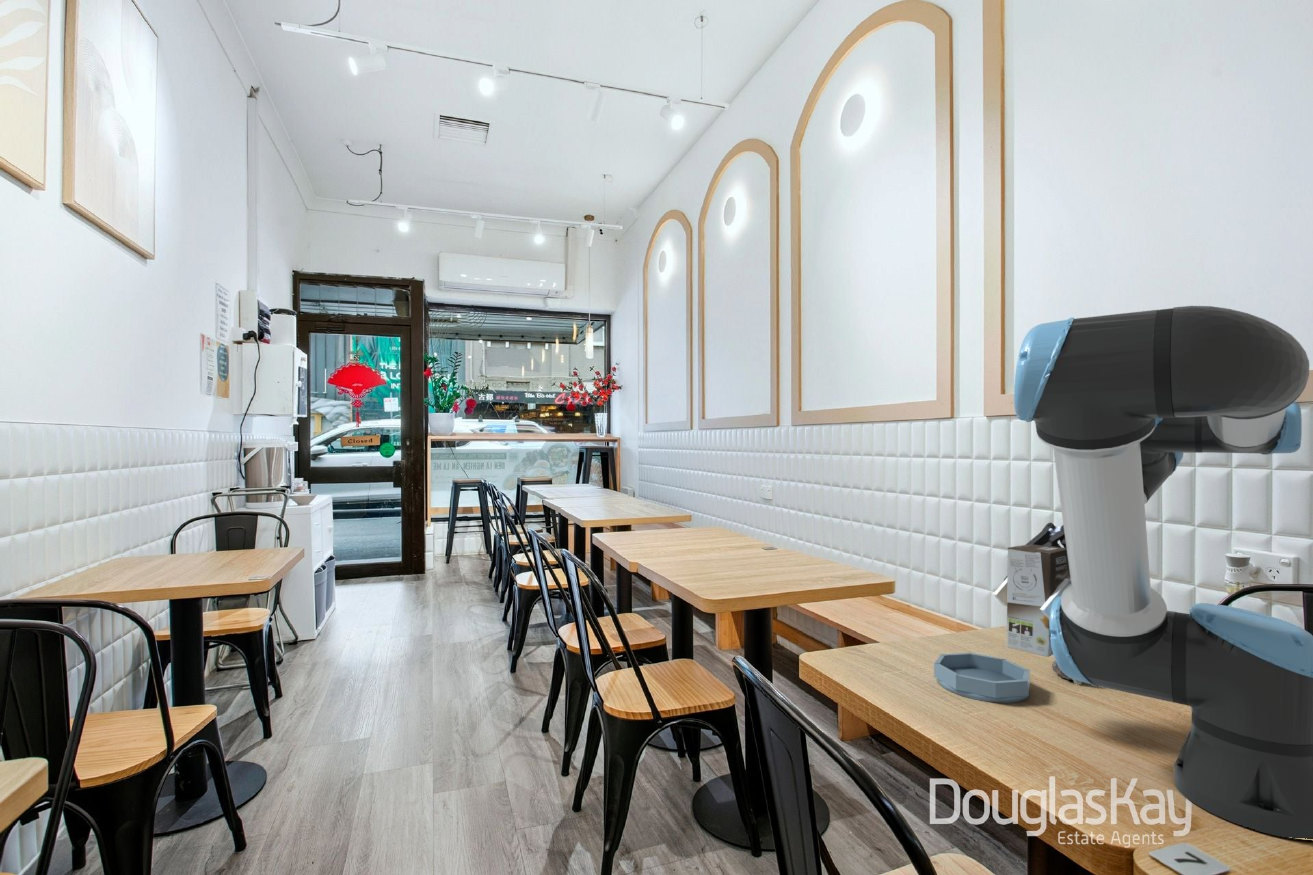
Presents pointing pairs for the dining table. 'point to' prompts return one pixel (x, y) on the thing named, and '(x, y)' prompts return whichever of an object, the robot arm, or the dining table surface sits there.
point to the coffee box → (1032, 594)
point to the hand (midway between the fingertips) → (1022, 607)
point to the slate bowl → (982, 677)
